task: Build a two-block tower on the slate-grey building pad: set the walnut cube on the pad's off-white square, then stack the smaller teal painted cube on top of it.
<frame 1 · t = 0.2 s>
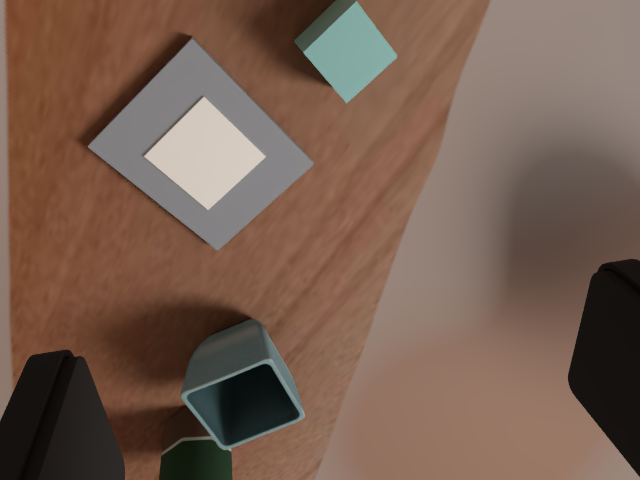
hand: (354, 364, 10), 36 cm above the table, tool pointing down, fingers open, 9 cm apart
building pad: (206, 151, 44), on the table
flower pot: (240, 341, 56), on the table
beer bottle: (197, 425, 60), on the table
teal block: (337, 42, 42), on the table
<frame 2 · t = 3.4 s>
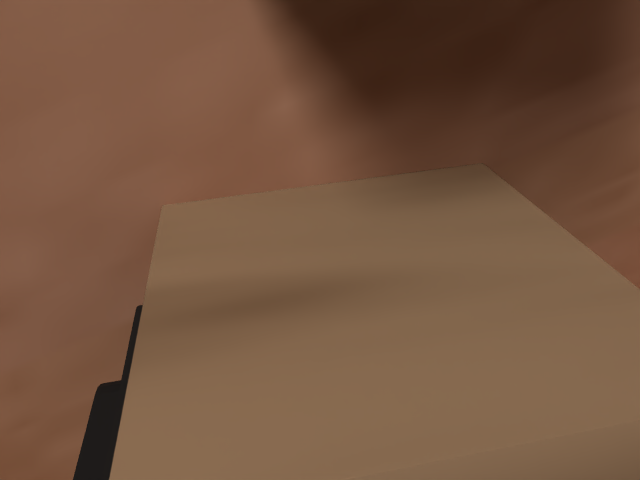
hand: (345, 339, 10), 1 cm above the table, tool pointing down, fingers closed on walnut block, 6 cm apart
walnut block: (336, 313, 11), on the table, touching gripper
when the fingers open (3 cm above the table, at t = 9.1 s): walnut block drops 1 cm, resting on building pad.
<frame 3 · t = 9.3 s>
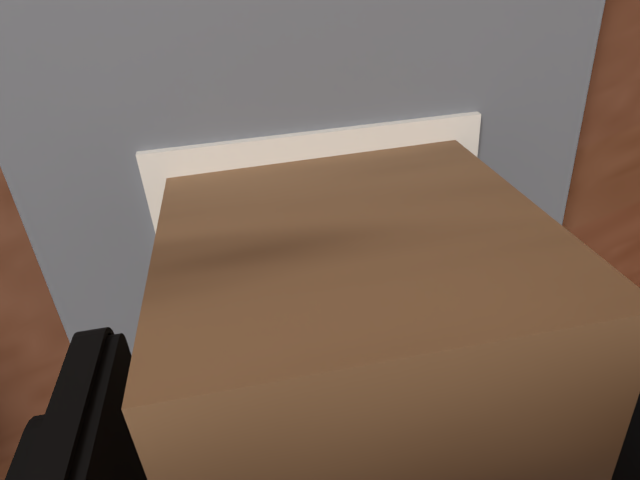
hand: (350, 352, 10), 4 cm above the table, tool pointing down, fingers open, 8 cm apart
building pad: (316, 252, 13), on the table
walnut block: (325, 279, 12), point 1 cm above the table, touching building pad
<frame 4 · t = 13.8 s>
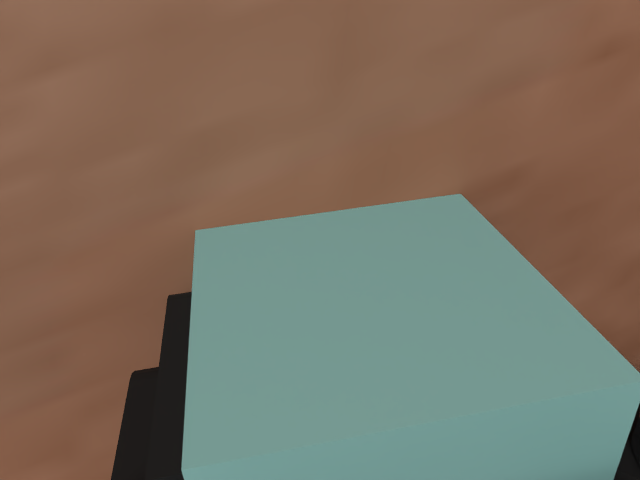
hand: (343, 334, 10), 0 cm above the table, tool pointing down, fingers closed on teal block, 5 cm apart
teal block: (338, 318, 11), on the table, touching gripper
when the fingers open (9 cm above the table, at t = 18.6 s): teal block drops 1 cm, resting on walnut block.
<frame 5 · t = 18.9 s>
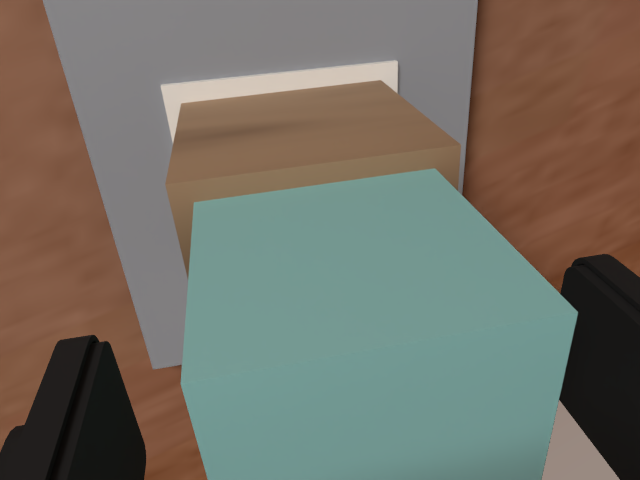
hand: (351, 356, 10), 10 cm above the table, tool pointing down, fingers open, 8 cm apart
building pad: (288, 169, 18), on the table
walnut block: (292, 183, 17), point 1 cm above the table, touching building pad, teal block
teal block: (326, 285, 12), point 7 cm above the table, touching walnut block
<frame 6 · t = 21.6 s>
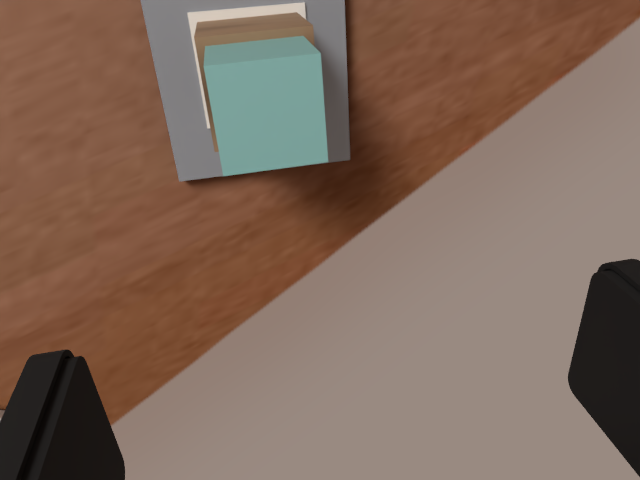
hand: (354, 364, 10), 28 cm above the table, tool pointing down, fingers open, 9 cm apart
building pad: (252, 64, 34), on the table
walnut block: (254, 68, 33), point 1 cm above the table, touching building pad, teal block
teal block: (261, 90, 28), point 7 cm above the table, touching walnut block
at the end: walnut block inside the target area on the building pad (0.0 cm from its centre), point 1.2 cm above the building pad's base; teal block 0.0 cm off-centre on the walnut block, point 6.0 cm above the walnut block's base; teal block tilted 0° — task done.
